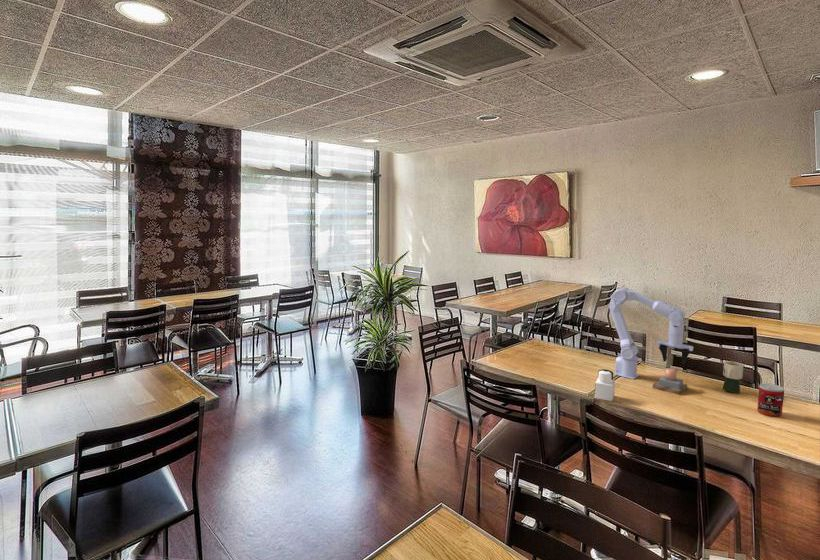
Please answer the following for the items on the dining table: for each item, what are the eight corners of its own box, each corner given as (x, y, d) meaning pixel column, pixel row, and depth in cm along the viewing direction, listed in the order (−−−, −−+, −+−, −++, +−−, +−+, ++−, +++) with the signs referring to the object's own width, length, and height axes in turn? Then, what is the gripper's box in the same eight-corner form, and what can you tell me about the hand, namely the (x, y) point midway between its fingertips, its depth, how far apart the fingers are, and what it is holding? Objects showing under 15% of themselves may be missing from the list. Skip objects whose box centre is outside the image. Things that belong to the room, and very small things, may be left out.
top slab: (658, 384, 202) (659, 379, 201) (663, 380, 207) (663, 375, 207) (678, 389, 196) (679, 383, 196) (682, 384, 202) (683, 379, 201)
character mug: (725, 386, 204) (728, 359, 203) (744, 390, 199) (747, 362, 197) (717, 392, 197) (720, 364, 196) (736, 396, 192) (739, 367, 190)
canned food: (755, 413, 175) (757, 386, 173) (758, 407, 180) (761, 381, 179) (780, 419, 169) (783, 392, 168) (782, 413, 175) (785, 386, 174)
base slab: (652, 389, 202) (652, 384, 202) (660, 383, 210) (661, 378, 210) (679, 396, 194) (679, 390, 194) (687, 390, 202) (687, 384, 201)
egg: (663, 379, 202) (664, 370, 201) (667, 376, 205) (667, 367, 204) (674, 381, 198) (674, 372, 198) (677, 379, 201) (678, 369, 201)
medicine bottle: (596, 392, 197) (598, 367, 196) (614, 395, 194) (615, 369, 192) (594, 398, 191) (595, 371, 190) (612, 401, 188) (613, 374, 186)
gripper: (655, 333, 207) (653, 360, 209) (690, 338, 197) (688, 368, 198) (661, 330, 212) (659, 357, 214) (695, 336, 201) (693, 364, 203)
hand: (673, 362), depth 206 cm, fingers open, 7 cm apart
